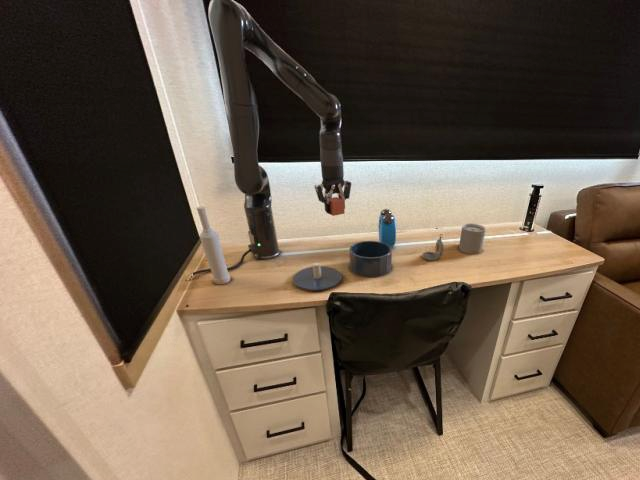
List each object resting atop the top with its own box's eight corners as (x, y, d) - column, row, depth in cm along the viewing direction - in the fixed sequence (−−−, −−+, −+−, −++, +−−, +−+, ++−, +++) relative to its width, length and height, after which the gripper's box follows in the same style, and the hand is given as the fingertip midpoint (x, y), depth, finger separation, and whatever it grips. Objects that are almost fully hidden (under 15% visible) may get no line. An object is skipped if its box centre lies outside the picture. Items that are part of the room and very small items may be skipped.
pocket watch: (419, 257, 130) (421, 234, 124) (431, 251, 135) (434, 229, 130) (434, 264, 125) (437, 240, 120) (447, 257, 130) (450, 235, 125)
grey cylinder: (484, 253, 136) (489, 231, 130) (462, 254, 135) (466, 231, 129) (474, 241, 147) (478, 220, 141) (454, 241, 146) (457, 220, 140)
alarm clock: (395, 251, 134) (396, 216, 125) (381, 251, 133) (381, 216, 124) (391, 239, 144) (392, 206, 136) (378, 239, 143) (378, 206, 135)
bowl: (366, 281, 111) (365, 262, 107) (342, 264, 121) (341, 246, 117) (399, 269, 120) (400, 251, 116) (374, 255, 130) (375, 237, 125)
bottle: (217, 276, 109) (195, 204, 95) (233, 276, 109) (213, 205, 96) (211, 284, 104) (186, 210, 91) (227, 284, 105) (205, 210, 91)
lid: (307, 297, 101) (305, 280, 97) (285, 277, 111) (282, 261, 107) (351, 282, 110) (350, 266, 107) (327, 264, 120) (325, 249, 117)
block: (332, 215, 114) (331, 202, 111) (326, 212, 117) (324, 198, 114) (344, 213, 117) (344, 200, 114) (337, 210, 120) (336, 196, 117)
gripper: (344, 159, 114) (346, 206, 123) (307, 162, 106) (312, 212, 115) (355, 163, 109) (357, 211, 119) (318, 166, 101) (323, 218, 110)
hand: (335, 211), depth 117 cm, fingers closed on block, 5 cm apart
